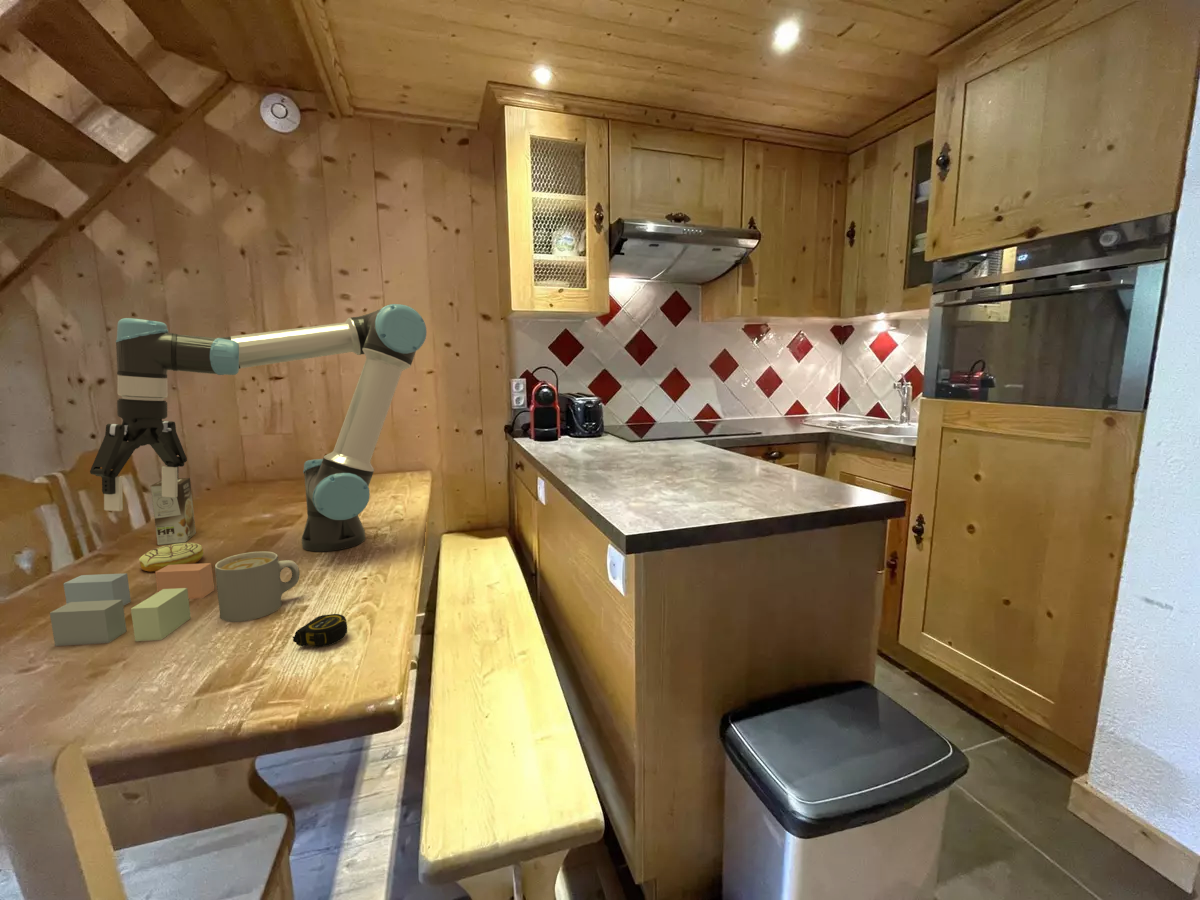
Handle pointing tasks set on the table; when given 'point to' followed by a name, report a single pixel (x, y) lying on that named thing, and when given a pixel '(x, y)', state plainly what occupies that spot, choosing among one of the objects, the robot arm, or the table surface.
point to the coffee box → (173, 513)
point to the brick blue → (98, 588)
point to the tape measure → (322, 631)
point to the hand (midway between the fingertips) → (143, 503)
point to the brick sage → (160, 614)
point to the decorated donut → (171, 556)
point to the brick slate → (88, 622)
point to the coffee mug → (252, 585)
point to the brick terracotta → (187, 579)
